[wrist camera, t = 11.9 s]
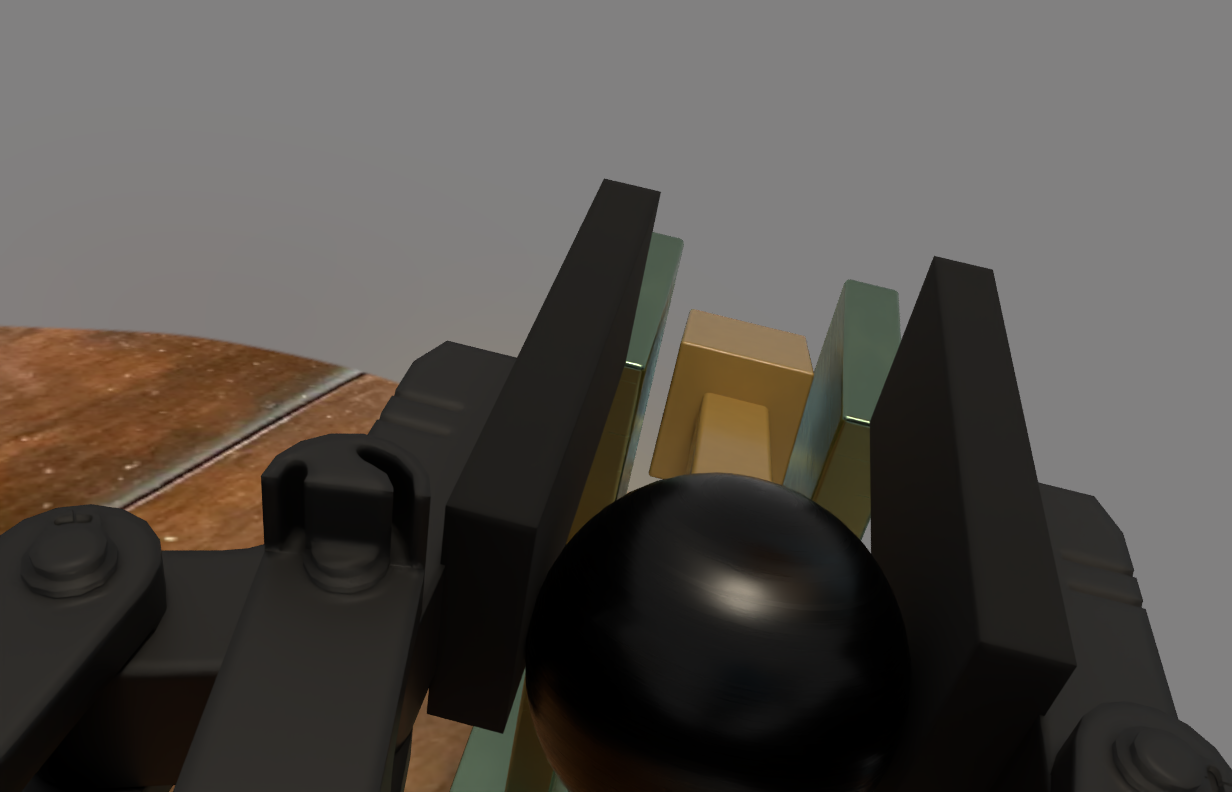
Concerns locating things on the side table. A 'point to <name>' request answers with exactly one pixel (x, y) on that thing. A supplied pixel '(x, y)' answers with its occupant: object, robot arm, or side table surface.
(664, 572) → the switch lever
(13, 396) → the side table surface
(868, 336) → the switch bracket
